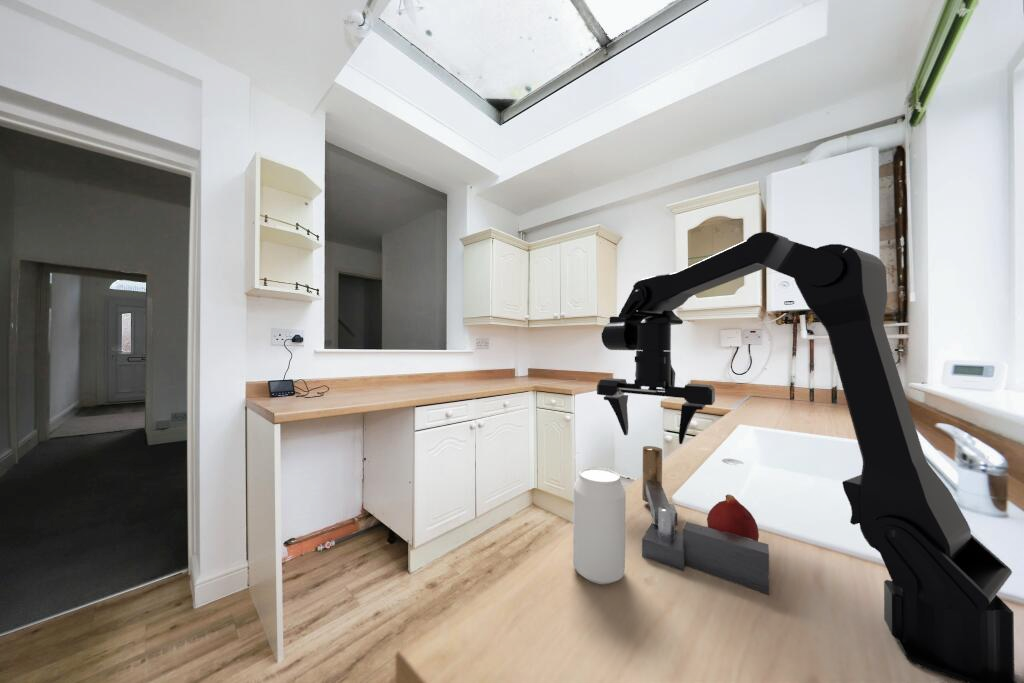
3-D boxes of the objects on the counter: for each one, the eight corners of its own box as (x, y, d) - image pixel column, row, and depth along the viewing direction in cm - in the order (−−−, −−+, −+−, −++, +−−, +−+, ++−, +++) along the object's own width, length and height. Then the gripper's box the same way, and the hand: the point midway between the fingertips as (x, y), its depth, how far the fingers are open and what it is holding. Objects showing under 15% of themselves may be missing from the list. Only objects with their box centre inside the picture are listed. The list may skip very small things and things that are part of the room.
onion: (742, 544, 49) (742, 487, 49) (769, 570, 43) (769, 506, 43) (700, 541, 49) (700, 485, 49) (720, 566, 43) (720, 503, 44)
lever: (677, 540, 47) (678, 475, 48) (651, 536, 48) (652, 472, 49) (661, 497, 61) (662, 447, 62) (641, 494, 62) (642, 445, 62)
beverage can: (575, 553, 46) (576, 463, 46) (623, 561, 44) (624, 468, 44) (570, 583, 40) (571, 480, 40) (626, 594, 38) (627, 486, 38)
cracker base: (767, 577, 41) (768, 527, 42) (769, 602, 37) (769, 546, 38) (651, 539, 49) (651, 498, 49) (642, 556, 45) (642, 511, 45)
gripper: (717, 352, 62) (717, 438, 62) (615, 350, 73) (614, 423, 72) (712, 352, 53) (711, 453, 52) (596, 350, 63) (595, 434, 63)
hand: (652, 439), depth 60 cm, fingers open, 9 cm apart
